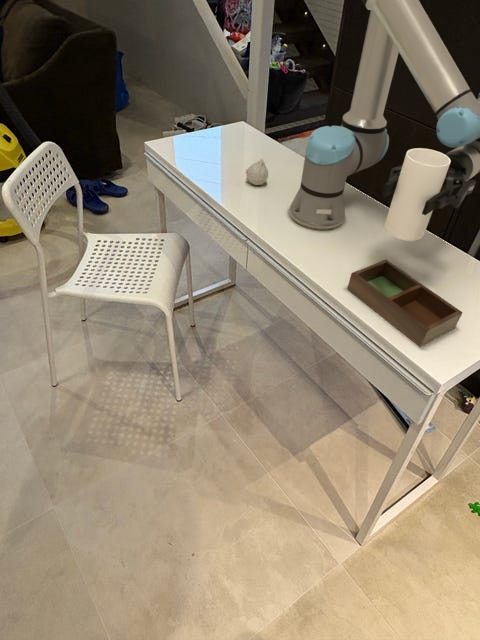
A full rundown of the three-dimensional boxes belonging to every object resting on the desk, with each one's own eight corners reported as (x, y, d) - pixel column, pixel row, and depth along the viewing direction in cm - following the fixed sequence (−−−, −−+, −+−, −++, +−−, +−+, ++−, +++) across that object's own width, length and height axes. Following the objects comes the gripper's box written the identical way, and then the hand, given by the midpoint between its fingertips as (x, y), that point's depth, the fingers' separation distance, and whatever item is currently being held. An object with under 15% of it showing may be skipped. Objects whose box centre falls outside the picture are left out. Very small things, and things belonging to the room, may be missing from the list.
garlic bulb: (246, 177, 153) (248, 152, 147) (268, 180, 152) (271, 155, 147) (243, 186, 148) (245, 161, 142) (265, 190, 147) (268, 164, 142)
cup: (418, 245, 99) (445, 170, 88) (379, 232, 102) (401, 158, 91) (427, 228, 104) (454, 155, 94) (390, 216, 107) (412, 144, 97)
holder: (381, 274, 119) (386, 259, 116) (455, 328, 106) (462, 312, 103) (346, 289, 113) (351, 273, 110) (420, 347, 100) (427, 330, 97)
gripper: (495, 201, 105) (448, 238, 92) (408, 167, 115) (355, 196, 102) (510, 168, 100) (463, 202, 87) (418, 135, 110) (363, 162, 97)
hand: (404, 199), depth 95 cm, fingers closed on cup, 8 cm apart
